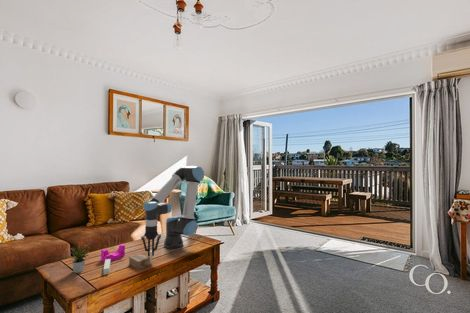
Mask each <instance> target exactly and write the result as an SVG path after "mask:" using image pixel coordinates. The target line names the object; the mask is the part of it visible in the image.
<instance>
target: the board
mask: <svg viewBox="0 0 470 313" xmlns="http://www.w3.org/2000/svg"><path fill="white" fill-rule="evenodd" d="M110 269H111V261H110V259H106V260H105V262H104V265H103V275H109V274H110V272H111V271H110Z"/></svg>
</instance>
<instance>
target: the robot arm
mask: <svg viewBox="0 0 470 313" xmlns="http://www.w3.org/2000/svg"><path fill="white" fill-rule="evenodd" d="M204 177H205V171H204V170H203V168H202V167H201V166H197V165H184V166H182V167H180V168H178V169H176V171H174V172H173V174H172V175H171V178H170V179H169V180H168V181H167V182H166V183H165V184H164V185H163V186H162V187H161V189H159V191H157V193H156V194H154V196H153V197H152V198H151V199H150V200H146V201H145V202H144V203H143V204H142V208H143V210H144V212H145V229H144V231H145V232H144V235H142V236H140V238H141V241H142V243H143V247H144V251H145V252H147V257H149V258H150V263H151V262H153V257H154V255H155V251H157V250H158V247H159V246H158V245H159V242H160V240H161V237H162V235H161V234H159V232H158V216H160V215H166V214H170V213H171V212H172V209H173V207H172V203H170V202H165V200H166V199H167V197H168V196H169V195H170V194H171V193H172V192H173V191H174V190H175V188H177V186H178V185H180V184H181V183H182V182H183V181H184V182H185V183H186V189H185V197H184V201H183V202H184V203H183V211H182V215H174V216H169V217H167V218H166V220H165V221H166V222H165V226H166V227H165V231H166V232H165V238H164V242H163V247H164V248H165V249H178V248H182V247H183V245H184V241H183V238H182V235H183V236H185V237H190V236H193V235H194V234H195V233H196V232H197V229H198V222H197V221H196V218H195V209H196V201H197V193H198V187H199V185H200V184H201V182H203V180H204ZM145 239H147V243H146V240H145ZM155 239H156V241H155Z"/></svg>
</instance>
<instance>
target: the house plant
mask: <svg viewBox="0 0 470 313" xmlns="http://www.w3.org/2000/svg"><path fill="white" fill-rule="evenodd" d="M88 245H89V244H86V245H84V246H82V247H80V246H81V244H79V245H78V250H76V248H75V246H72V247H71V248H70V247H69V249H68V248H67V250H69V251H70V254H72V255H73V256H72V255H68V256H67V258H68V259H74V260H72V261H71V264H72V269H73V273H74V274H78V273H81V272H83V271H84V269H85V265H86V264H85V263H86V259H87V257H90V255H89V254H90V252H89V251H86V249H90V246H89V247H87V246H88Z"/></svg>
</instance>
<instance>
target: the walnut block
mask: <svg viewBox="0 0 470 313" xmlns="http://www.w3.org/2000/svg"><path fill="white" fill-rule="evenodd" d="M128 258H129V260H128V262H129V263H128V264H129V265H130V266H131V267H133V268H135V269H136V270H140V269H143V268H146V267H149V266H150V265H151V262H150V256H149V257H148V255H144V254H142V253H139V254H134V255H131V256H129V257H128Z"/></svg>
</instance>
